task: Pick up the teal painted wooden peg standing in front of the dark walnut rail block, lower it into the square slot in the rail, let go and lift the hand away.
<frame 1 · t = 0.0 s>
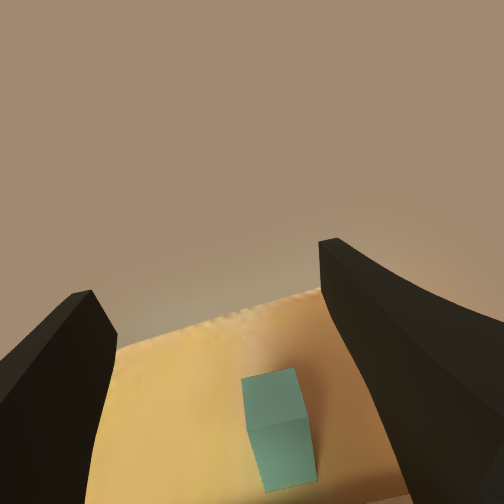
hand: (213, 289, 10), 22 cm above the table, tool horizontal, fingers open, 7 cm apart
teal peg: (286, 459, 26), on the table
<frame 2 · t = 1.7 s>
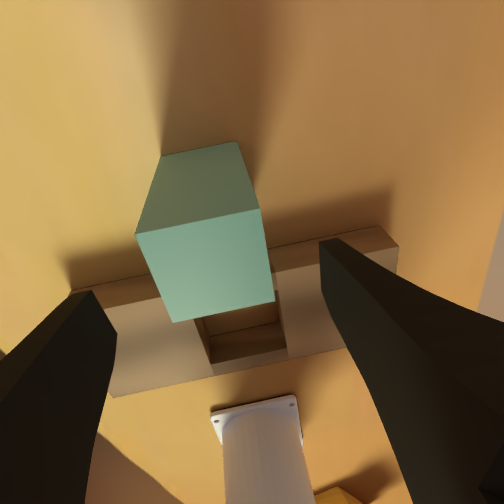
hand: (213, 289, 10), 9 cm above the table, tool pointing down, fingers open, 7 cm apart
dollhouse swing: (335, 499, 47), on the table
teal peg: (207, 184, 18), on the table
walnut rail: (238, 303, 23), on the table
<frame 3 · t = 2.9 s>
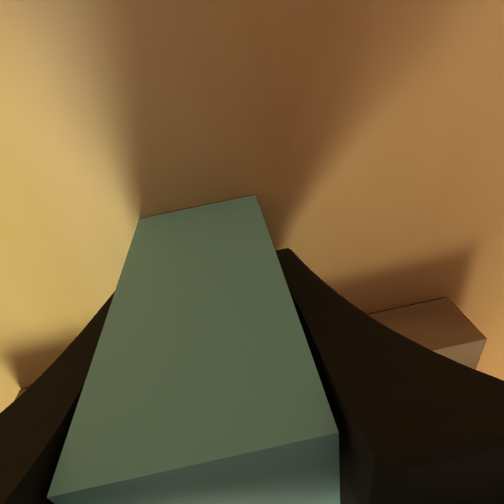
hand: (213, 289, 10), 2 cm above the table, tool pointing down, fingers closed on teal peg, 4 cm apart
teal peg: (211, 254, 12), on the table, touching gripper
walnut rail: (250, 392, 17), on the table
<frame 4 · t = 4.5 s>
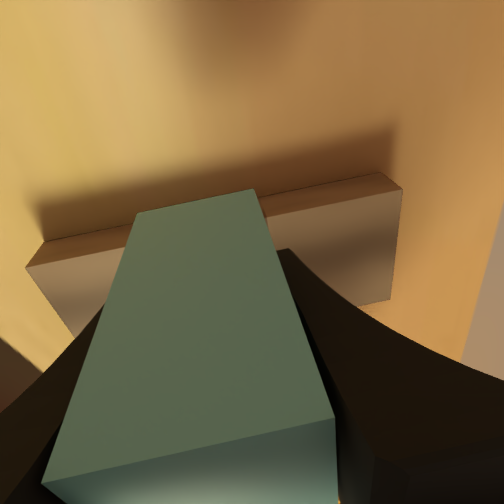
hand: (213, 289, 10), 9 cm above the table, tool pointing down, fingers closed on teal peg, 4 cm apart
teal peg: (209, 249, 12), point 7 cm above the table, touching gripper
walnut rail: (227, 261, 21), on the table
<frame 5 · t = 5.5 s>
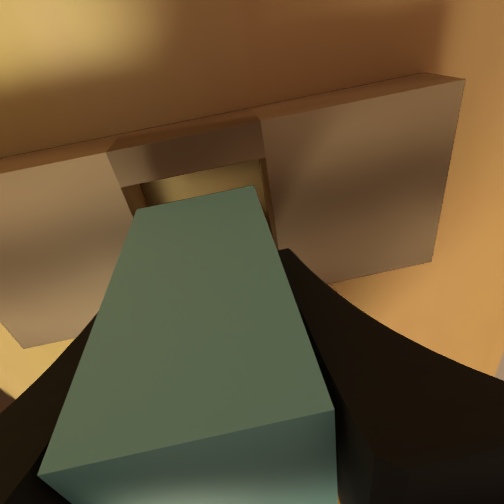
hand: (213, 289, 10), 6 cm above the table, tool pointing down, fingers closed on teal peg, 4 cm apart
teal peg: (209, 246, 12), point 4 cm above the table, touching gripper
walnut rail: (209, 208, 15), on the table
when the fingers open (3 cm above the table, at t = 6.4 s): teal peg drops 1 cm, resting in walnut rail.
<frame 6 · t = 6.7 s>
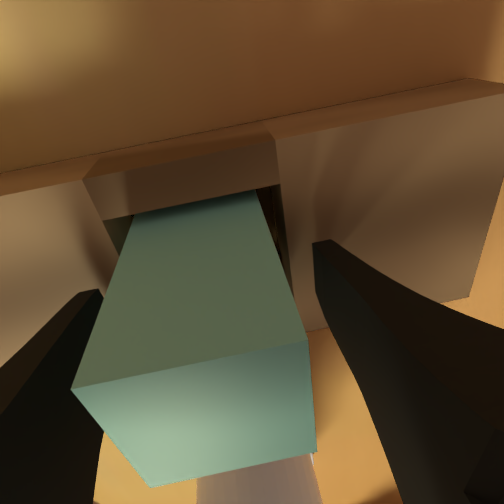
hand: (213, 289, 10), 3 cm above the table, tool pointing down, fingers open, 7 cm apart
teal peg: (208, 229, 13), resting in walnut rail
walnut rail: (210, 235, 13), on the table
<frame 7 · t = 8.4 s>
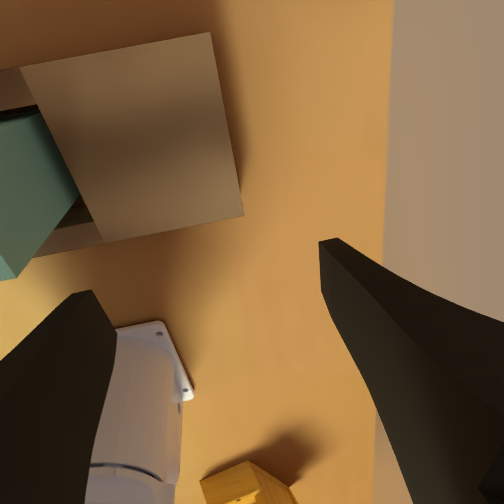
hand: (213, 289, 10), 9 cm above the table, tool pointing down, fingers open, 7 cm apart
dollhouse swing: (251, 478, 40), on the table
teal peg: (29, 157, 16), resting in walnut rail
walnut rail: (32, 162, 16), on the table
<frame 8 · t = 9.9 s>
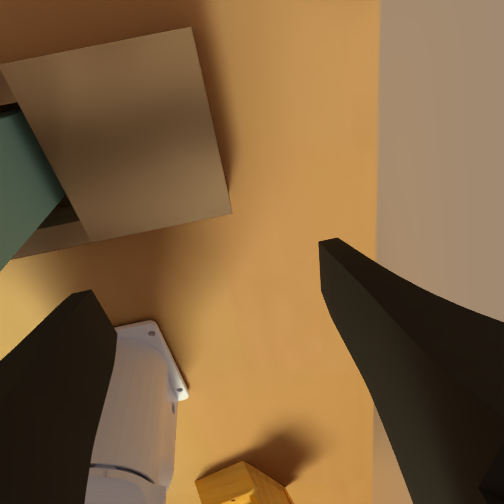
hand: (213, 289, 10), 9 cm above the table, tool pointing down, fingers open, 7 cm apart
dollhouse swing: (247, 478, 40), on the table
teal peg: (14, 156, 16), resting in walnut rail
walnut rail: (17, 161, 16), on the table
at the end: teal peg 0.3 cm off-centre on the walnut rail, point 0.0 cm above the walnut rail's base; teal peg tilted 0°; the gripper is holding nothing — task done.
